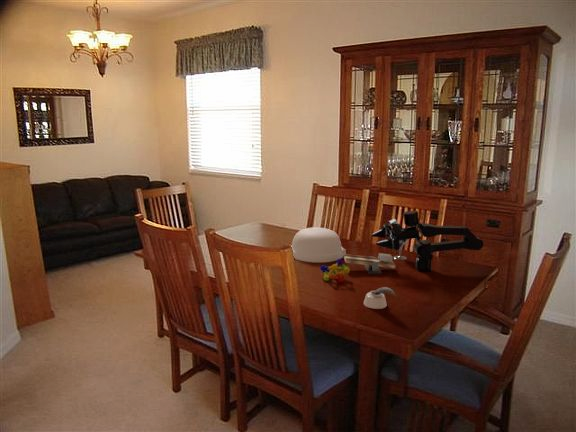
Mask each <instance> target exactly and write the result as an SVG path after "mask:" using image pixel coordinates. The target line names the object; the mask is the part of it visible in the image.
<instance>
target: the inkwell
mask: <svg viewBox="0 0 576 432" xmlns="http://www.w3.org/2000/svg"><path fill="white" fill-rule="evenodd" d="M385 293H386V294H390V295H393V296H394V297H395V298H396V297H397V298H398V296H397V294H396V293H395V291H394V290H393V289H392V288H390V287H387V286H382V287H379V288H377V289H375V290H371V291H368V292H367V293H366V294H365V298H364V300H363V305H364V306H365V307H366V308H370V309H374V310H380V309H381V310H383V309H385V308H386V307H387V306H388V305H387V300H386V299H387V298H386V296H385Z"/></svg>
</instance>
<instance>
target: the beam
mask: <svg viewBox="0 0 576 432" xmlns="http://www.w3.org/2000/svg"><path fill="white" fill-rule="evenodd" d="M343 259H344V262H345V263H346V264H354V265H362V266H365V265H370V266H372V262H378V267H379V268H380V267H382V268H388V269H389V268H391V269H396V266H397V265H396V264H397V263H396V262H395V263H394V260H393V259H394V258H393V259H392V263H387V262H379V261H378V257H375V256H374V257H369V256H366V255H357V254H356V255H355V254H349V253H348V254H347V253H346V254H344V256H343Z"/></svg>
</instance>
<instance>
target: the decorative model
mask: <svg viewBox="0 0 576 432" xmlns="http://www.w3.org/2000/svg"><path fill="white" fill-rule="evenodd" d="M340 265H341V266H340ZM319 269H320V270H321V271H322V272H323V275H324V276H323V280H324V281H325V282H327V281H329V280H337V281H338V283H340V284H342V283H343V282H344V277H346V275H347V274H349V273H350V271H351V269H350V267H349V266H346V265H345V264H344V263H343V260H342V258H341V259H337V260H336V263H334V264H332V265H330V266H326V265H321V266H320V268H319ZM329 269H330V270H329Z"/></svg>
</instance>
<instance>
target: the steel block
mask: <svg viewBox="0 0 576 432" xmlns="http://www.w3.org/2000/svg"><path fill="white" fill-rule="evenodd" d="M393 257H394V256H392V254H390V253H382V252H378V256H377V258H378V261H379V262H387V263H392V259H394V258H393Z"/></svg>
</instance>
